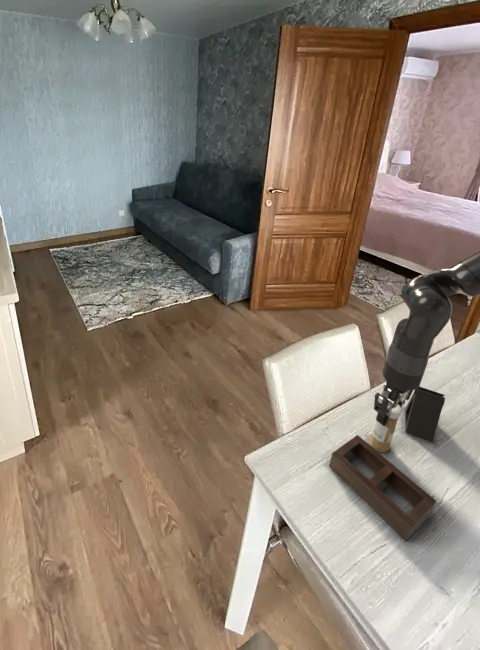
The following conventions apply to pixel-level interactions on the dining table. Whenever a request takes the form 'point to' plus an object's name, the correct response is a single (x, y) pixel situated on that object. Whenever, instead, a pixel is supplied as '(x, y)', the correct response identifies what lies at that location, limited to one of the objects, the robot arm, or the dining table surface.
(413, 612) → the dining table surface
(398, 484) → the holder
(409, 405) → the phone stand
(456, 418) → the dining table surface
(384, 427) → the sprinkles bottle
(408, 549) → the dining table surface
